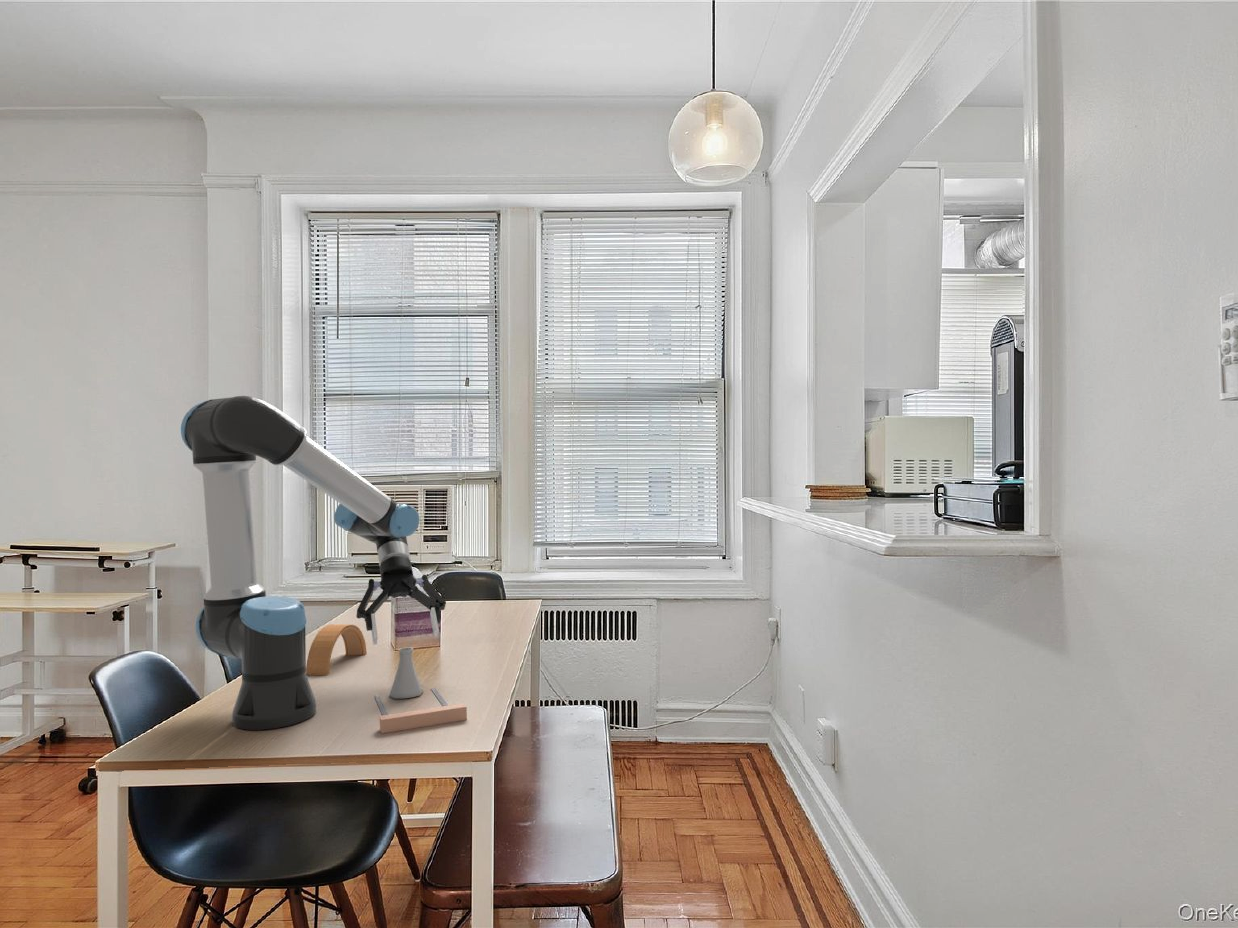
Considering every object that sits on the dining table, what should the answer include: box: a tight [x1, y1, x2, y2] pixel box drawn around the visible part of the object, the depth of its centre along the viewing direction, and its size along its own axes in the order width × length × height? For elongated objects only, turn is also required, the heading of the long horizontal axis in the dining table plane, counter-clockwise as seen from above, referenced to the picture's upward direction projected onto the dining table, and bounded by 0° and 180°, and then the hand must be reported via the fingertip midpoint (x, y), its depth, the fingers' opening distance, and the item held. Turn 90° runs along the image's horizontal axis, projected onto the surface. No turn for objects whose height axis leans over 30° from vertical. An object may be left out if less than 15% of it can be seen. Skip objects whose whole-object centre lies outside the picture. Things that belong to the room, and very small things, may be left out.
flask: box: [388, 646, 424, 699], centre depth 160 cm, size 7×7×10 cm
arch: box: [306, 624, 367, 676], centre depth 187 cm, size 6×20×10 cm, turn 172°
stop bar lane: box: [374, 687, 468, 734], centre depth 150 cm, size 16×24×2 cm
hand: (406, 637), depth 167 cm, fingers open, 13 cm apart
